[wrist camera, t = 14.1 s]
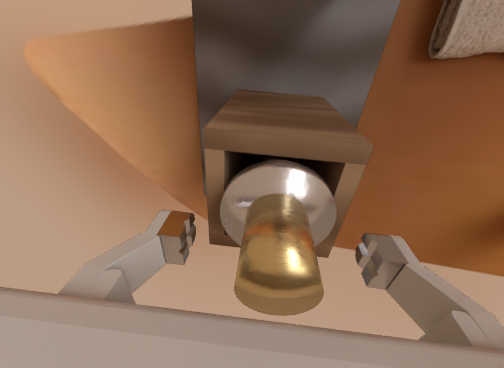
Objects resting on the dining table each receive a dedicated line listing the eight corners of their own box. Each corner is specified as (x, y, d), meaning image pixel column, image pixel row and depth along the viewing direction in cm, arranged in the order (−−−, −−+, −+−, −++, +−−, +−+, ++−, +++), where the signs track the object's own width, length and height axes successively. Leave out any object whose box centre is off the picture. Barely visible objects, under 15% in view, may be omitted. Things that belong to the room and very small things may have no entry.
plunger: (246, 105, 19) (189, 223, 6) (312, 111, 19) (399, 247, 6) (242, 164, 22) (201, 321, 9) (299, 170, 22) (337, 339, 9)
